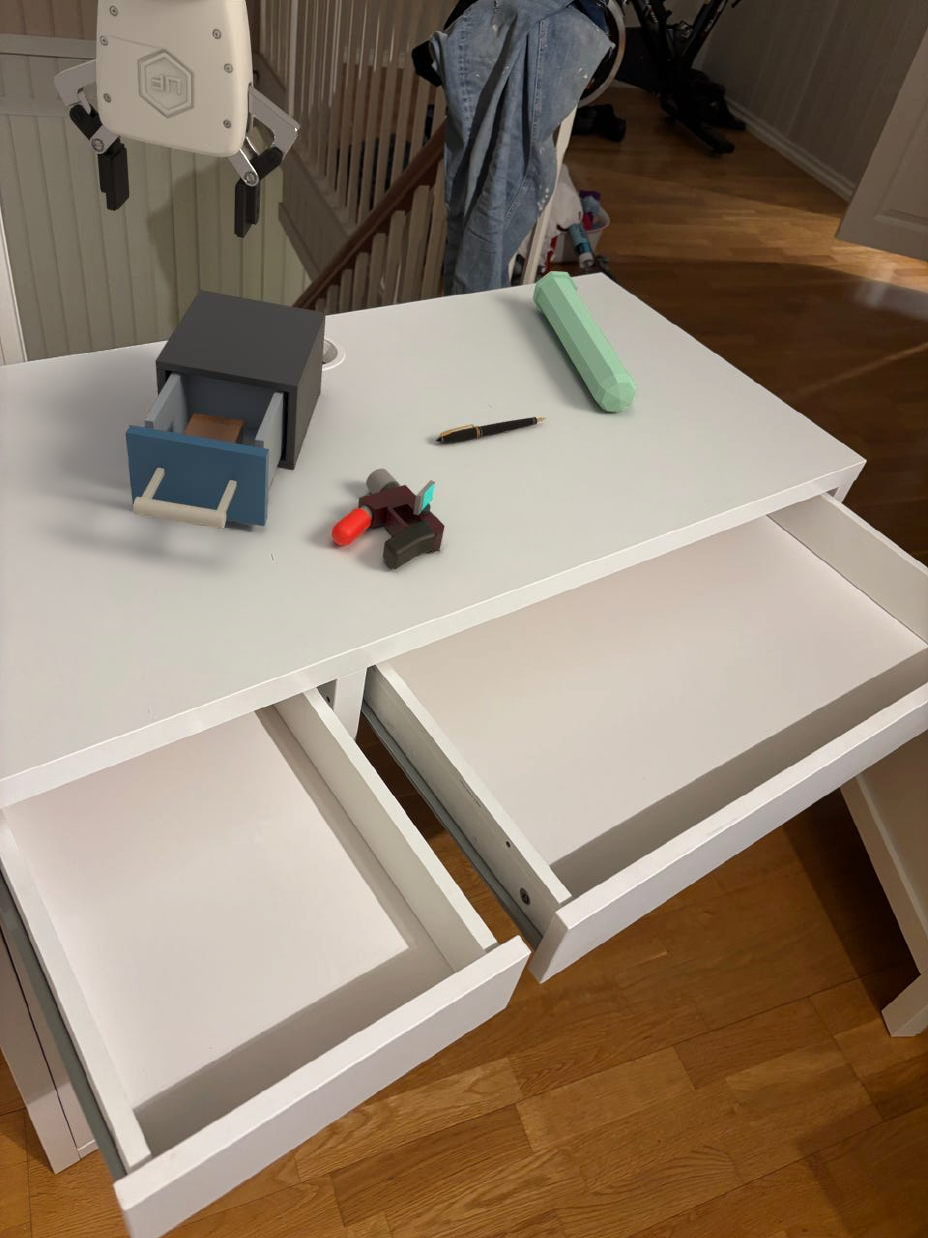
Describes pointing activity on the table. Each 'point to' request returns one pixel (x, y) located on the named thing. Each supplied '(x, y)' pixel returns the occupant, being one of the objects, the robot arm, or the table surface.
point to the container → (584, 341)
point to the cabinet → (252, 353)
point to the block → (215, 428)
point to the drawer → (207, 453)
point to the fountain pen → (484, 430)
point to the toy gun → (394, 519)
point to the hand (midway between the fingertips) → (181, 217)
